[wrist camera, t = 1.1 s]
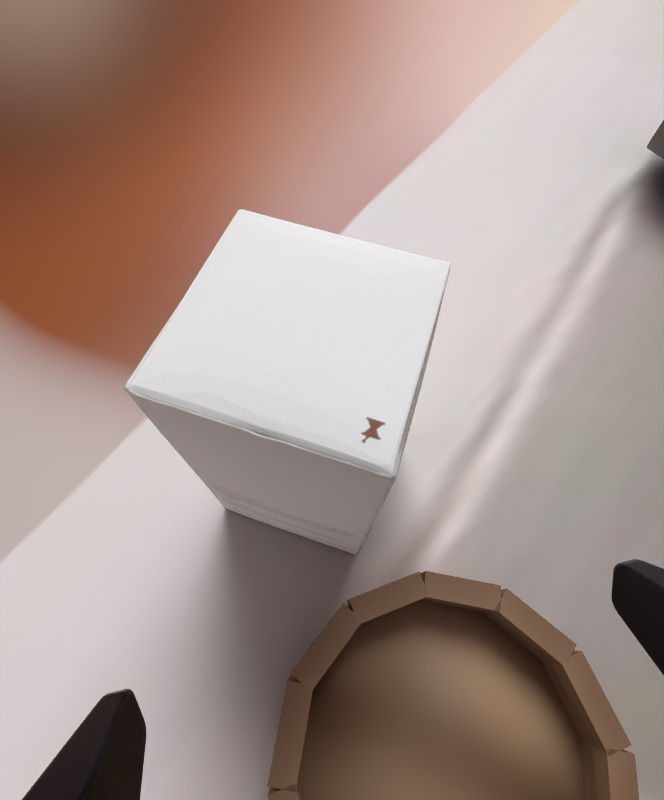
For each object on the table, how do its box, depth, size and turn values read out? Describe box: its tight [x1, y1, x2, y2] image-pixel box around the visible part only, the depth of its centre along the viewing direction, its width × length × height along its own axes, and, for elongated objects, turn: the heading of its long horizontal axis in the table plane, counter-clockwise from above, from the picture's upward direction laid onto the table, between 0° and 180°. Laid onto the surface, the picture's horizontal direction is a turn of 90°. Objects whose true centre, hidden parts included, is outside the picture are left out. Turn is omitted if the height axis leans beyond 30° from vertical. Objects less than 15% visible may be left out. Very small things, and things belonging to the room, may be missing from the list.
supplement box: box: [125, 209, 450, 555], centre depth 18 cm, size 7×7×13 cm
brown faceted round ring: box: [268, 571, 639, 800], centre depth 17 cm, size 13×13×2 cm
